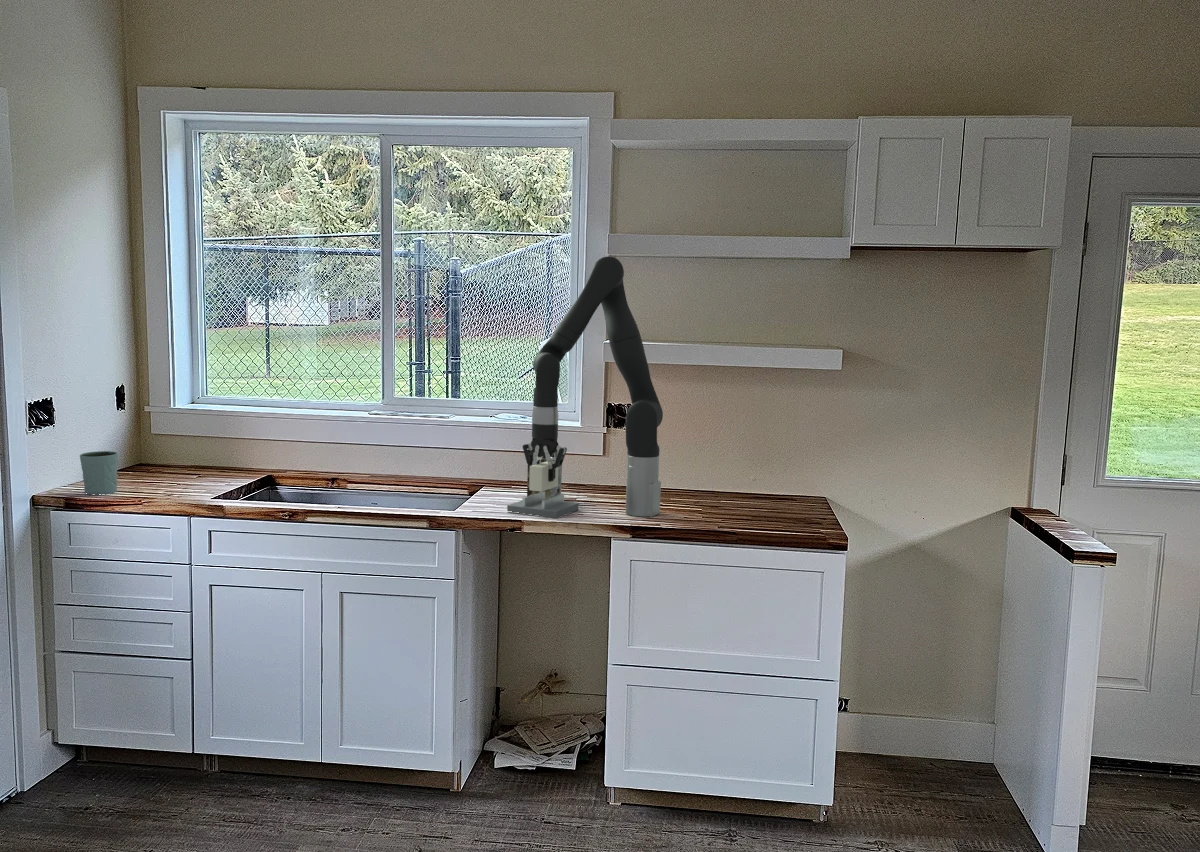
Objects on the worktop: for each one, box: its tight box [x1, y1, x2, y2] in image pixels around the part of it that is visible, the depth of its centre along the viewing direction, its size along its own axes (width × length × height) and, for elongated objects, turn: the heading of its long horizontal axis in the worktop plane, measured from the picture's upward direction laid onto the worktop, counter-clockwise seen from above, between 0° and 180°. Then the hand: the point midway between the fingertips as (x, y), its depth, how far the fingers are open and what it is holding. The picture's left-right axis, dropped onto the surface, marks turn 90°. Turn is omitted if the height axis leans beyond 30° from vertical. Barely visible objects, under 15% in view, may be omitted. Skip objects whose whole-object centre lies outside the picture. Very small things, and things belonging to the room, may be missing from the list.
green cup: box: [79, 450, 119, 496], centre depth 289 cm, size 10×10×12 cm
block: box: [529, 461, 558, 492], centre depth 279 cm, size 4×10×7 cm, turn 154°
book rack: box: [506, 491, 580, 519], centre depth 280 cm, size 16×14×4 cm
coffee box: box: [526, 448, 563, 499], centre depth 296 cm, size 9×6×16 cm
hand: (543, 480), depth 279 cm, fingers closed on block, 4 cm apart
